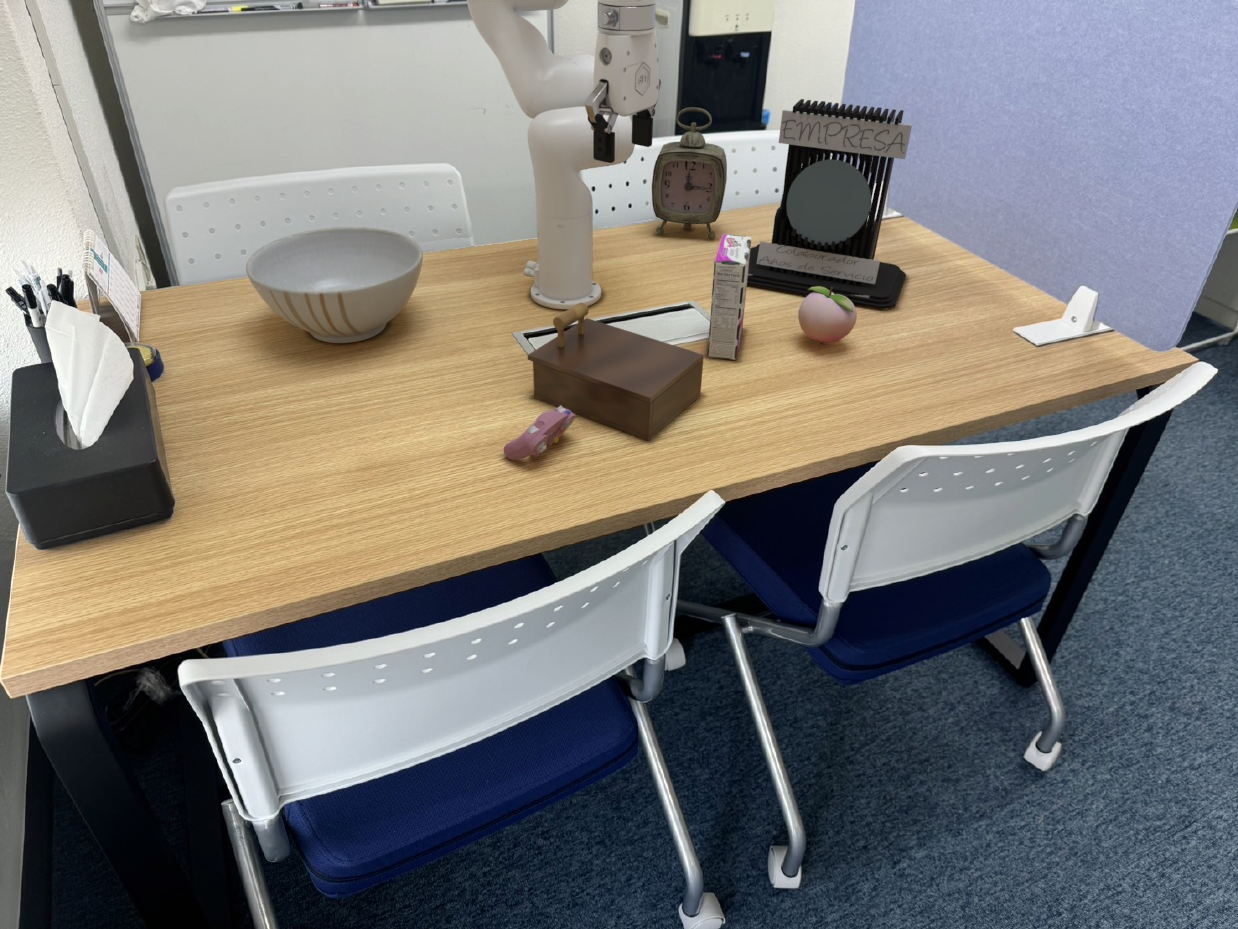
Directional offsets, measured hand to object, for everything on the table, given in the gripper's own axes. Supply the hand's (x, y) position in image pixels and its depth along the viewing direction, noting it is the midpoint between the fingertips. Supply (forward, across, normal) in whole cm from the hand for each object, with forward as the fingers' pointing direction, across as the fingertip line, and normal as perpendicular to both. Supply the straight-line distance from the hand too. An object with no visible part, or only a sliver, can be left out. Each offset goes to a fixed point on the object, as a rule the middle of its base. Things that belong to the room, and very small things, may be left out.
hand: (623, 152), depth 122 cm
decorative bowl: (+31, -21, +40) cm, 55 cm away
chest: (+30, -14, -9) cm, 35 cm away
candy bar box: (+31, +10, -14) cm, 35 cm away
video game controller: (+31, -31, -8) cm, 44 cm away
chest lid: (+24, -14, -9) cm, 29 cm away
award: (+31, +44, -16) cm, 56 cm away
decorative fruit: (+31, +19, -27) cm, 45 cm away
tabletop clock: (+31, +50, +16) cm, 61 cm away
